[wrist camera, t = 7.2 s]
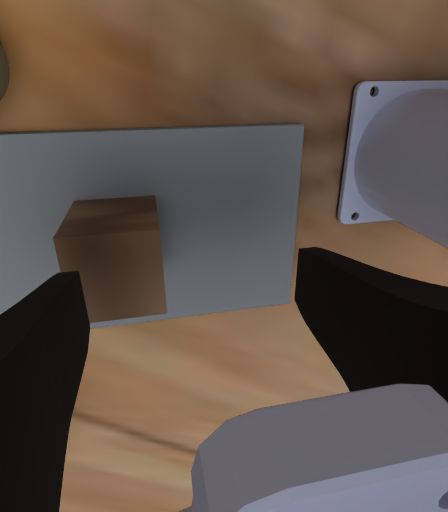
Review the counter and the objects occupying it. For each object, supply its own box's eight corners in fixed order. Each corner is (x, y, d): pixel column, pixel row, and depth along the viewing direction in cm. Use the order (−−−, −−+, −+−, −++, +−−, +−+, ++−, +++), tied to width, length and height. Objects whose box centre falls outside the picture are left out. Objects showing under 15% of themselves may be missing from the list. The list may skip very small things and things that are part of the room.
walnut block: (155, 195, 19) (159, 229, 14) (161, 264, 21) (167, 313, 16) (74, 200, 18) (52, 238, 14) (87, 271, 20) (72, 325, 15)
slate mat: (296, 122, 20) (304, 124, 19) (284, 295, 24) (289, 303, 24) (-76, 135, 16) (-88, 137, 16) (-7, 331, 21) (-13, 341, 20)
